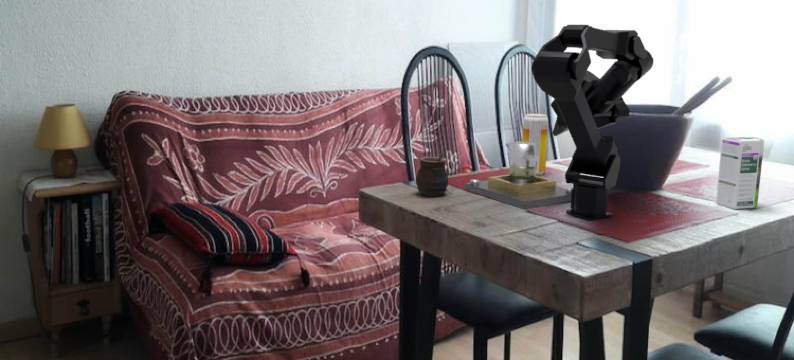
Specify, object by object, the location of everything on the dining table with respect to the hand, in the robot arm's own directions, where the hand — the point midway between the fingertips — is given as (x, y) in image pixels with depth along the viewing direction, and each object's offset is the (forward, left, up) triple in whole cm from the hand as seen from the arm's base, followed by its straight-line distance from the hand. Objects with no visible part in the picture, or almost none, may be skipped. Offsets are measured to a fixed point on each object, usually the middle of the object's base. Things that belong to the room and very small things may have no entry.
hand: (569, 133), depth 153 cm
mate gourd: (+14, +27, -14) cm, 33 cm away
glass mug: (+5, +10, -12) cm, 16 cm away
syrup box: (-26, -23, -14) cm, 38 cm away
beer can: (+20, -8, -14) cm, 25 cm away
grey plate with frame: (+4, +10, -14) cm, 17 cm away
